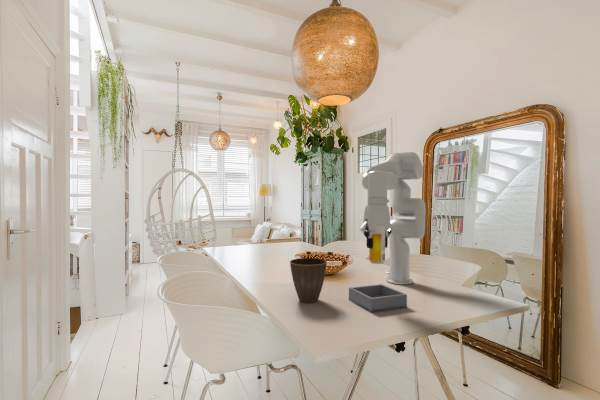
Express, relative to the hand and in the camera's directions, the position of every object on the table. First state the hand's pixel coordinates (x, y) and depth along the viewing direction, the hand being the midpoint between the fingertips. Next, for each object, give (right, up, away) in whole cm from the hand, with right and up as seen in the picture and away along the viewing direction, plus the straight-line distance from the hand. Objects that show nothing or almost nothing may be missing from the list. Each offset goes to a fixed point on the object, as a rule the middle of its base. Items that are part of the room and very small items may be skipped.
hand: (377, 247), depth 126 cm
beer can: (0, -6, 0) cm, 6 cm away
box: (0, -22, 0) cm, 22 cm away
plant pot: (-27, -22, +3) cm, 35 cm away
